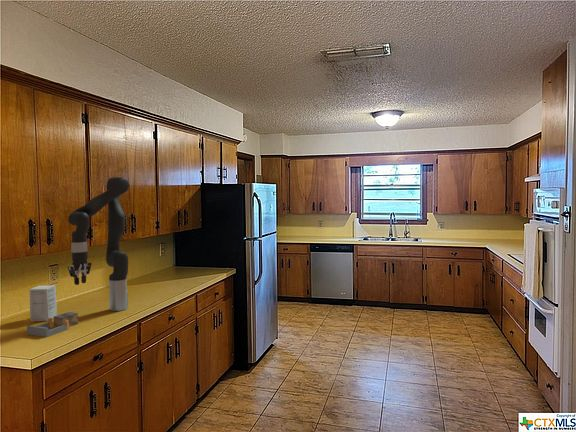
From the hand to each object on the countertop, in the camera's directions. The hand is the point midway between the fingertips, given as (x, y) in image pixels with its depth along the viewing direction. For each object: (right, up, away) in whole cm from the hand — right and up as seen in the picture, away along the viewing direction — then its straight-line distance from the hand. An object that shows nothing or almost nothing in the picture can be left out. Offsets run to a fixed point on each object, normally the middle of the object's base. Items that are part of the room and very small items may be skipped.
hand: (80, 283), depth 220 cm
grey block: (-3, -20, -8) cm, 22 cm away
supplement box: (-21, -19, +4) cm, 29 cm away
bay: (-6, -20, -18) cm, 27 cm away
